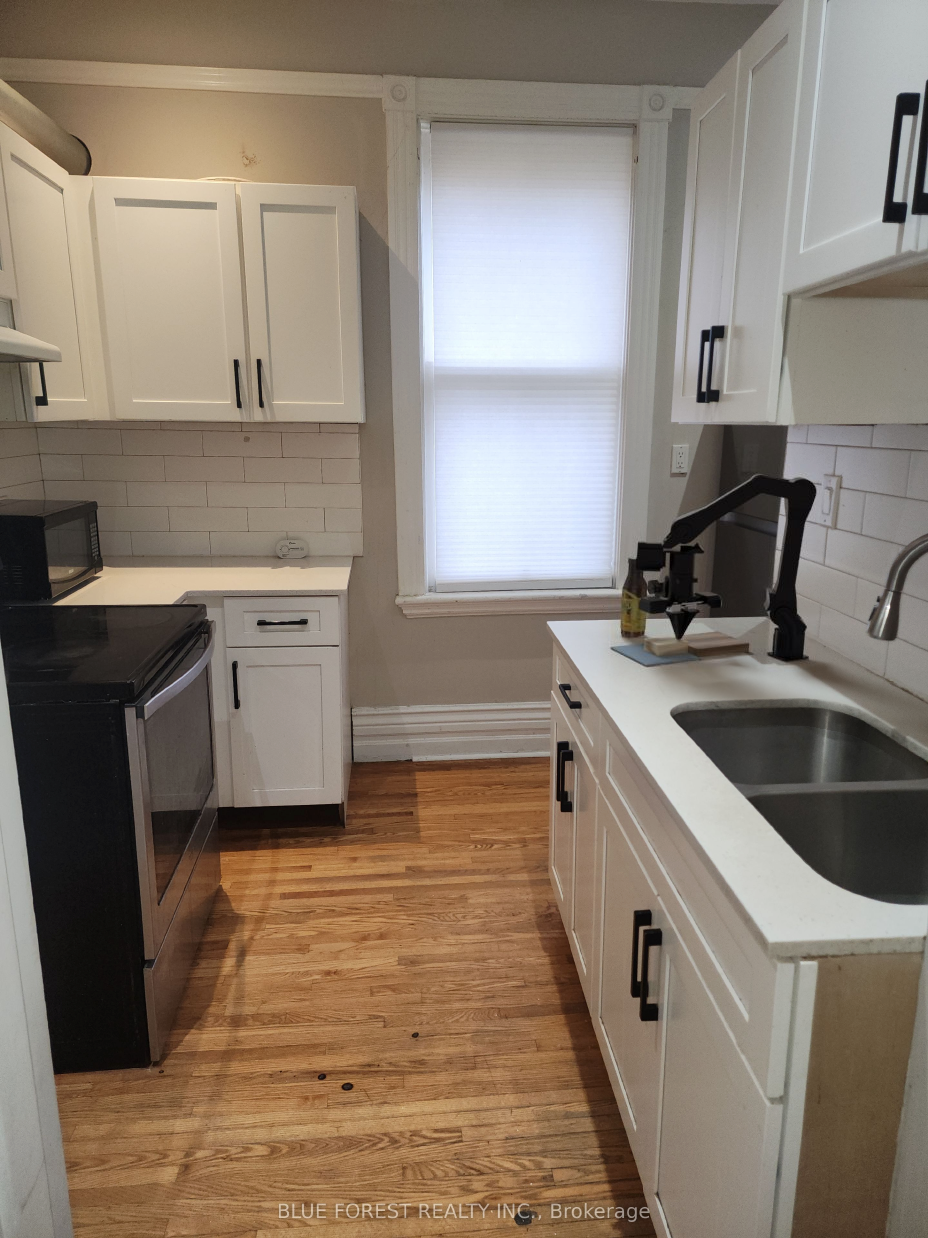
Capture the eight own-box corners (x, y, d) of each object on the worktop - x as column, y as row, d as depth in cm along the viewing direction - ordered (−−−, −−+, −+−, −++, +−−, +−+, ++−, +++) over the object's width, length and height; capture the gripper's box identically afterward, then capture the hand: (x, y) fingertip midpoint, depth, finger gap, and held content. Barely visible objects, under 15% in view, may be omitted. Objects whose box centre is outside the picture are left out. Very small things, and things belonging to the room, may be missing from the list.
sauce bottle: (616, 633, 206) (618, 555, 201) (639, 631, 207) (642, 554, 202) (626, 639, 200) (628, 559, 195) (649, 637, 201) (653, 558, 196)
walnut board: (748, 651, 187) (749, 643, 187) (696, 657, 183) (697, 649, 182) (717, 639, 198) (717, 631, 198) (667, 644, 194) (667, 636, 193)
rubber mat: (701, 660, 181) (701, 658, 181) (645, 666, 177) (645, 664, 177) (662, 642, 196) (662, 641, 196) (610, 648, 191) (610, 646, 191)
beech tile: (688, 652, 186) (688, 641, 185) (657, 656, 183) (657, 645, 183) (673, 646, 191) (673, 635, 191) (643, 649, 189) (644, 639, 188)
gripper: (696, 564, 194) (693, 627, 198) (627, 569, 188) (625, 634, 192) (725, 571, 184) (721, 638, 187) (652, 577, 178) (650, 646, 182)
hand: (678, 638), depth 187 cm, fingers closed
